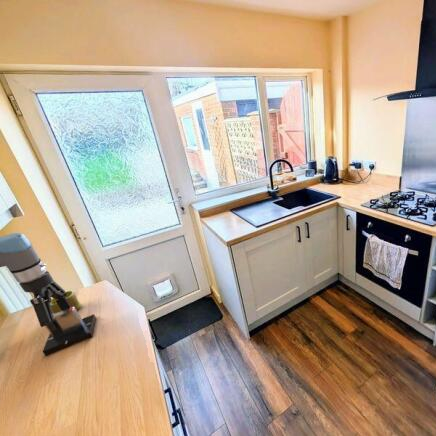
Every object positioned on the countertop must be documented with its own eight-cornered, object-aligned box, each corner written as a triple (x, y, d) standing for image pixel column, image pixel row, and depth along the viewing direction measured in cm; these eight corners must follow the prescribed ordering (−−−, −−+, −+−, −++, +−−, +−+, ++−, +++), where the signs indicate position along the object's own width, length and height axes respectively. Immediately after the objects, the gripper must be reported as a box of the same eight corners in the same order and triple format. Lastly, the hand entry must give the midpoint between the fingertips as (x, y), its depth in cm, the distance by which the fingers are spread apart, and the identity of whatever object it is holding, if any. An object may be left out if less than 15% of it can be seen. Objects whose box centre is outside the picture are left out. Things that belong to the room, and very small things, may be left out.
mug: (84, 308, 106) (65, 292, 102) (59, 326, 102) (38, 310, 98) (89, 297, 116) (72, 282, 112) (66, 313, 113) (48, 298, 109)
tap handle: (54, 339, 91) (41, 321, 87) (56, 334, 93) (43, 316, 89) (83, 327, 95) (72, 309, 91) (84, 323, 97) (73, 306, 93)
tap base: (44, 358, 87) (40, 353, 86) (55, 332, 97) (51, 328, 96) (92, 339, 93) (89, 334, 92) (97, 316, 103) (94, 312, 102)
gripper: (35, 292, 75) (69, 340, 84) (57, 256, 95) (82, 299, 103) (2, 302, 72) (41, 352, 81) (31, 263, 91) (60, 307, 100)
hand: (64, 322), depth 92 cm, fingers open, 12 cm apart
